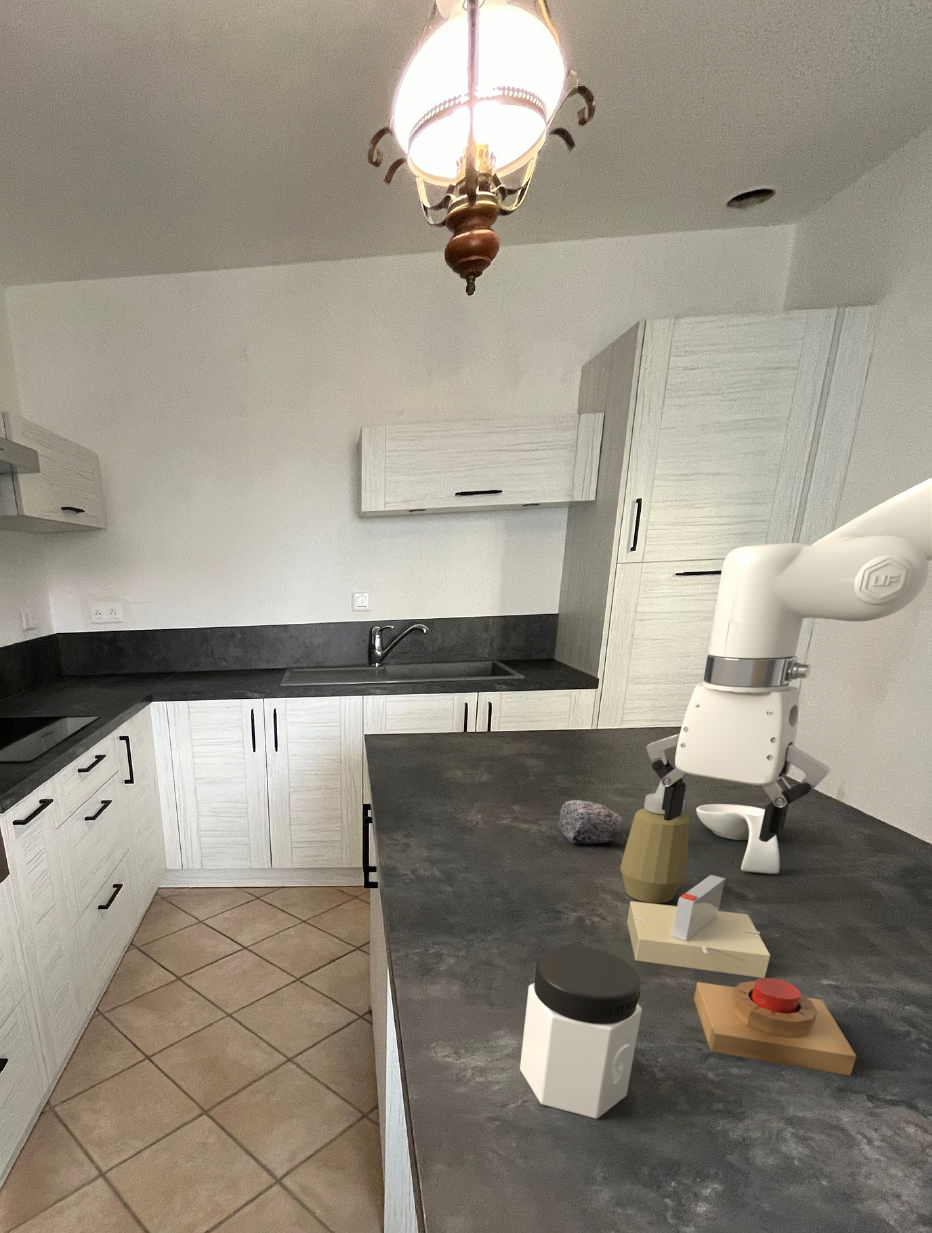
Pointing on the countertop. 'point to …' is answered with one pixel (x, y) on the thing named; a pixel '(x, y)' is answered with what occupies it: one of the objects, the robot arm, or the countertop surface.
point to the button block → (772, 1030)
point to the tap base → (697, 941)
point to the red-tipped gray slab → (698, 907)
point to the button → (776, 995)
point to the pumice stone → (589, 823)
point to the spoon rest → (743, 834)
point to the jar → (581, 1029)
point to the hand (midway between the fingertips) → (717, 827)
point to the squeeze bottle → (655, 852)
